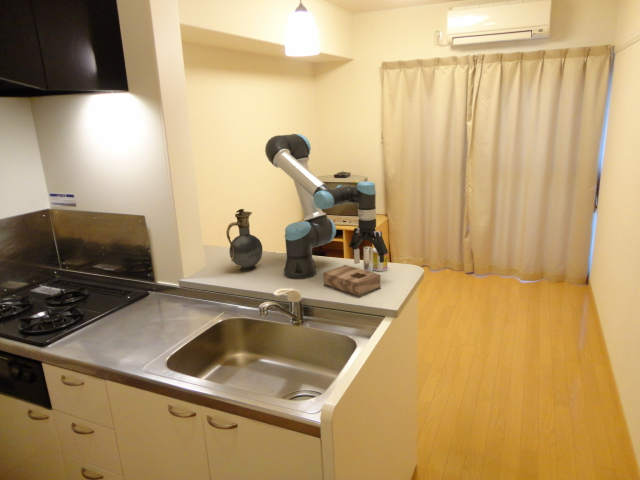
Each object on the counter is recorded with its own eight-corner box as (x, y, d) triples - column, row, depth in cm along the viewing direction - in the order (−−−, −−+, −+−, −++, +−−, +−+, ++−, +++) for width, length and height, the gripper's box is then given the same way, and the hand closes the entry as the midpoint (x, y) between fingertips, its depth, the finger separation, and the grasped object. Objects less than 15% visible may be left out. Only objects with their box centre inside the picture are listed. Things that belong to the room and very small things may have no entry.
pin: (361, 278, 199) (361, 247, 195) (368, 276, 201) (367, 245, 198) (368, 280, 196) (368, 249, 192) (374, 278, 198) (374, 247, 195)
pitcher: (267, 265, 223) (262, 205, 215) (240, 277, 207) (233, 213, 200) (250, 262, 229) (245, 204, 221) (223, 274, 213) (216, 211, 206)
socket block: (324, 285, 192) (323, 272, 191) (345, 277, 200) (345, 264, 199) (358, 297, 178) (358, 283, 176) (380, 288, 186) (380, 274, 184)
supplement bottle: (386, 271, 206) (386, 244, 202) (372, 271, 207) (371, 244, 204) (387, 267, 212) (387, 240, 209) (373, 266, 213) (373, 240, 210)
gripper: (340, 216, 198) (342, 262, 204) (384, 223, 180) (385, 274, 185) (352, 213, 203) (353, 258, 208) (396, 220, 185) (396, 269, 190)
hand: (368, 266), depth 197 cm, fingers open, 13 cm apart
